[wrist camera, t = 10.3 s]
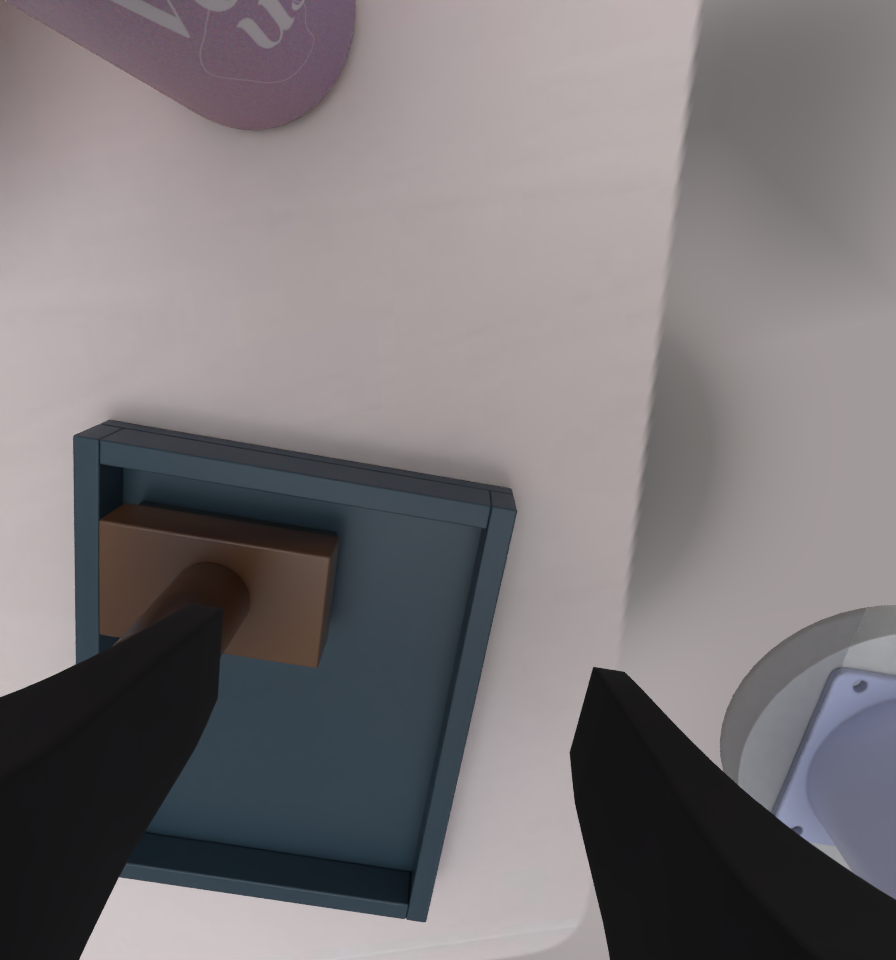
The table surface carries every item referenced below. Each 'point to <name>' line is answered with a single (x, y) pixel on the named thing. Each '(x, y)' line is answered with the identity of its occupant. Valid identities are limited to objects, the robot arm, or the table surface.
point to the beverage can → (216, 50)
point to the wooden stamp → (219, 578)
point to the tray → (317, 672)
